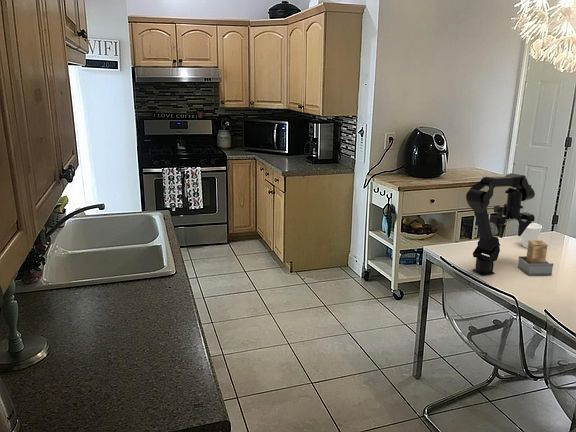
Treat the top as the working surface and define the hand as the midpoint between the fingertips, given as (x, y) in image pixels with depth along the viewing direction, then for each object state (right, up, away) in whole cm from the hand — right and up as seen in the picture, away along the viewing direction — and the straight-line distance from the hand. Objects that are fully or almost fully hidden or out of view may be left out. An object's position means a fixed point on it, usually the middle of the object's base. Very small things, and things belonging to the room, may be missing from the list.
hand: (510, 237), depth 212 cm
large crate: (+8, -15, -4) cm, 17 cm away
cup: (+21, -6, +26) cm, 34 cm away
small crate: (+8, -14, -5) cm, 17 cm away
